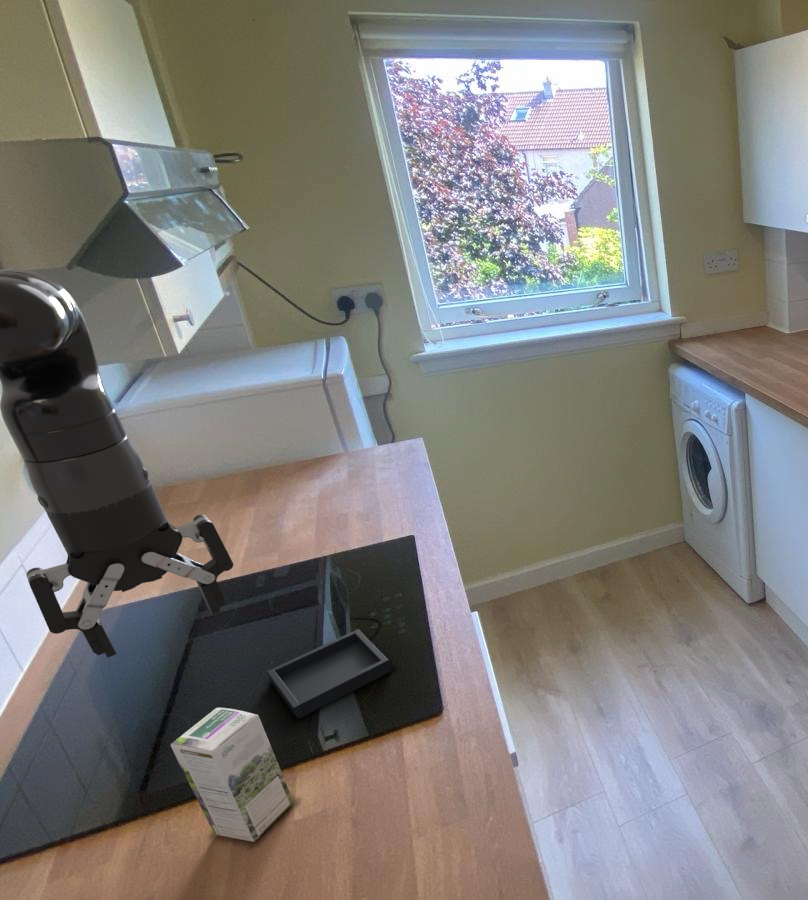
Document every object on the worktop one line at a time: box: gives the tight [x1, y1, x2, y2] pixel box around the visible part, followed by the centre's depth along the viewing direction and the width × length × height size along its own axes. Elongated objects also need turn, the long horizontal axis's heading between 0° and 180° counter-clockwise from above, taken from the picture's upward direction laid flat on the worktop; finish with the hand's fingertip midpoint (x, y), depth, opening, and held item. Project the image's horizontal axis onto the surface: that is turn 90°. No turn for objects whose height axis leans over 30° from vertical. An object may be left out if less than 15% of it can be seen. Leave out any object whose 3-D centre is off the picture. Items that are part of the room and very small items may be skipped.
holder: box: [266, 628, 393, 720], centre depth 109 cm, size 13×12×2 cm
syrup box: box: [170, 707, 294, 843], centre depth 84 cm, size 6×6×14 cm
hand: (164, 631), depth 75 cm, fingers open, 8 cm apart
